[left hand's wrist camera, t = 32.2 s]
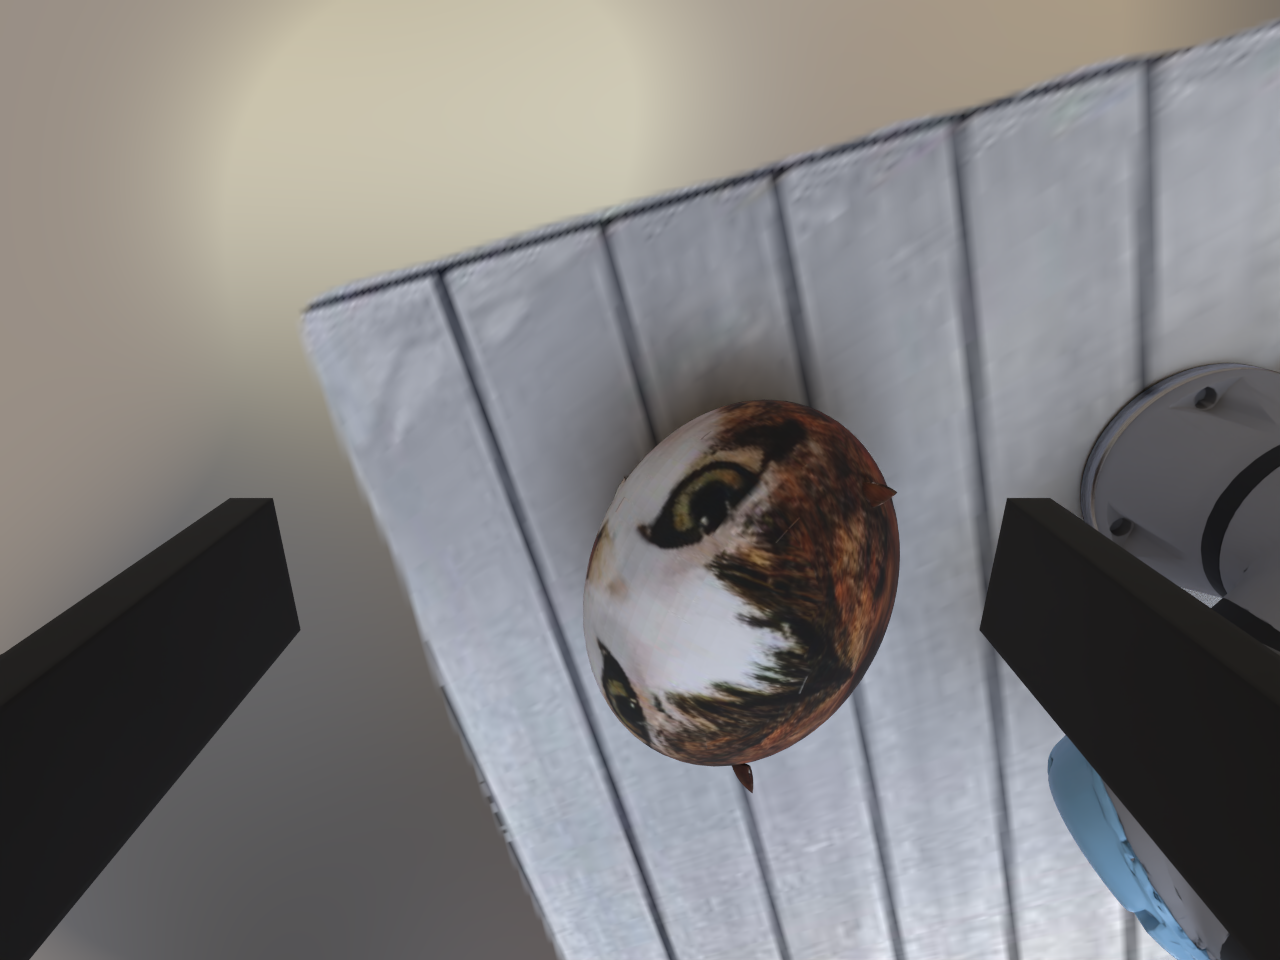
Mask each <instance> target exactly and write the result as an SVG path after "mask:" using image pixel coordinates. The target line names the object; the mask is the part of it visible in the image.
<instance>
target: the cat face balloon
mask: <svg viewBox="0 0 1280 960" xmlns="http://www.w3.org/2000/svg"><path fill="white" fill-rule="evenodd" d="M896 493H897V492H896V491H895V490H893V489H891V488H890V487H888V486H887V485H886V482H885V480H884V477H883V475H882V473H881V471H880V470H879V468H878V466H877V464H876V462H875V461H874V459H873V458H872V457H871V455H870V454H869V452H868V451H867V450H866V448H865V447H864V445H863V444H862V443H861V442H860V441H859V440H858V439H857V438H856V437H855V436H854V435H853V434H852V433H851V432H850V431H849V430H847V429H846V428H845V427H844V426H842V425H841V424H840V423H839V422H837V421H836V420H834V419H832V418H830V417H829V416H827V415H825V414H823V413H822V412H820V411H817V410H815V409H812V408H810V407H807V406H804V405H800V404H796V403H792V402H787V401H777V400H754V401H745V402H739V403H735V404H731V405H727V406H723V407H720V408H718V409H715V410H713V411H710V412H708V413H705V414H703V415H700V416H699V417H697V418H695V419H693V420H691V421H690V422H688V423H686V424H685V425H683V426H681V427H680V428H678V429H677V430H675V431H674V432H672V433H671V434H670V435H669V436H667V437H666V438H665V439H664V440H662V441H661V442H660V443H659V444H658V445H657V446H656V447H655V448H654V449H653V450H652V451H651V452H650V453H648V454H647V455H646V456H645V457H644V458H643V460H642V461H641V462H640V463H639V464H638V465H637V467H636V468H635V469H634V470H633V471H632V473H631V474H630V475H629V477H628V478H627V479H626V481H625V477H624V479H623V481H622V482H621V484H620V486H619V487H618V489H617V492H616V494H615V497H614V500H613V502H612V503H611V505H610V507H609V508H608V511H607V513H606V515H605V517H604V519H603V522H602V524H601V526H600V528H599V531H598V534H597V537H596V539H595V542H594V545H593V549H592V552H591V556H590V560H589V564H588V568H587V575H586V581H585V588H584V599H583V625H584V635H585V642H586V649H587V653H588V657H589V661H590V665H591V668H592V671H593V674H594V677H595V679H596V682H597V684H598V686H599V689H600V691H601V693H602V695H603V696H604V698H605V700H606V702H607V703H608V705H609V707H610V708H611V710H612V711H613V713H614V714H615V715H616V717H617V718H618V719H619V721H620V722H621V723H622V724H623V725H624V726H625V727H626V728H627V729H628V730H629V731H630V732H631V733H632V734H633V735H634V736H635V737H637V738H638V739H639V740H641V741H642V742H643V743H645V744H646V745H647V746H649V747H650V748H652V749H654V750H656V751H657V752H659V753H661V754H663V755H666V756H668V757H671V758H674V759H676V760H679V761H682V762H686V763H690V764H695V765H704V766H730V765H732V767H733V770H734V772H735V774H736V776H737V778H738V779H739V780H740V782H741V783H742V784H743V785H744V786H745V787H746V788H747V789H748V790H749V791H750V792H751V793H753V775H752V770H751V767H750V766H749V765H747V764H745V763H748V762H753V761H756V760H759V759H763V758H765V757H768V756H771V755H773V754H776V753H778V752H780V751H782V750H784V749H786V748H789V747H790V746H792V745H793V744H795V743H797V742H798V741H800V740H802V739H803V738H805V737H806V736H808V735H809V734H810V733H812V732H813V731H814V730H816V729H817V728H818V727H819V726H820V725H822V724H823V723H824V722H825V721H826V720H828V719H829V718H830V717H831V716H832V715H833V714H834V713H835V712H836V711H837V710H838V708H839V707H840V706H841V705H842V704H843V703H844V702H845V701H846V699H847V698H848V697H849V696H850V694H851V693H852V692H853V690H854V689H855V688H856V686H857V685H858V684H859V682H860V681H861V680H862V678H863V676H864V675H865V673H866V671H867V669H868V668H869V666H870V664H871V663H872V661H873V659H874V657H875V655H876V653H877V651H878V649H879V647H880V645H881V642H882V640H883V637H884V635H885V632H886V629H887V626H888V623H889V620H890V617H891V614H892V610H893V606H894V602H895V597H896V592H897V585H898V577H899V563H900V543H899V532H898V524H897V518H896V513H895V509H894V505H893V501H892V497H893V496H894V495H895V494H896Z"/></svg>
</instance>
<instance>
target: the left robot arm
mask: <svg viewBox="0 0 1280 960" xmlns="http://www.w3.org/2000/svg"><path fill="white" fill-rule="evenodd" d="M1081 508H1082V513H1083V518H1084V521H1085V522H1084V521H1083V520H1081V519H1080V518H1078V517H1077V516H1075V515H1074V514H1072V513H1071V512H1070V511H1068V510H1067V509H1065V508H1064V507H1062V506H1061V505H1059V504H1058V503H1056V502H1055V501H1053V500H1052V499H1051V498H1007V502H1006V506H1005V511H1004V516H1003V521H1002V525H1001V530H1000V535H999V540H998V544H997V549H996V554H995V559H994V563H993V568H992V573H991V578H990V583H989V587H988V592H987V597H986V602H985V606H984V611H983V616H982V621H981V625H980V631H981V632H982V633H983V635H984V636H985V637H986V638H987V640H988V641H989V642H990V643H991V644H992V646H993V647H994V648H995V649H996V651H997V652H998V653H999V654H1000V655H1001V657H1002V658H1003V659H1004V660H1005V661H1006V663H1007V664H1008V665H1009V666H1010V668H1011V669H1012V670H1013V671H1014V672H1015V674H1016V675H1017V676H1018V677H1019V678H1020V680H1021V681H1022V682H1023V683H1024V685H1025V686H1026V687H1027V688H1028V689H1029V691H1030V692H1031V693H1032V694H1033V695H1034V697H1035V698H1036V699H1037V700H1038V702H1039V703H1040V704H1041V705H1042V706H1043V708H1044V709H1045V710H1046V711H1047V713H1048V714H1049V715H1050V716H1051V717H1052V719H1053V720H1054V721H1055V722H1056V723H1057V725H1058V726H1059V727H1060V728H1061V730H1062V731H1063V732H1064V733H1065V734H1066V735H1065V736H1064V737H1063V738H1062V739H1061V740H1060V741H1059V742H1058V743H1057V744H1056V745H1055V746H1054V748H1053V749H1052V751H1051V753H1050V756H1049V759H1048V775H1049V776H1048V781H1049V786H1050V790H1051V793H1052V796H1053V799H1054V801H1055V804H1056V806H1057V808H1058V810H1059V812H1060V815H1061V817H1062V818H1063V820H1064V822H1065V824H1066V826H1067V828H1068V830H1069V831H1070V833H1071V835H1072V836H1073V838H1074V840H1075V841H1076V843H1077V845H1078V846H1079V848H1080V849H1081V851H1082V852H1083V854H1084V855H1085V857H1086V858H1087V860H1088V861H1089V863H1090V864H1091V866H1092V867H1093V868H1094V870H1095V871H1096V872H1097V874H1098V875H1099V877H1100V878H1101V879H1102V881H1103V882H1104V883H1105V885H1106V886H1107V887H1108V889H1109V890H1110V891H1111V892H1112V894H1113V895H1114V896H1115V897H1116V899H1117V900H1118V901H1119V902H1120V903H1121V904H1122V905H1123V906H1124V907H1125V909H1126V910H1127V911H1131V912H1134V913H1135V915H1136V917H1137V918H1138V920H1139V921H1140V923H1141V924H1142V926H1143V927H1144V929H1145V930H1146V932H1147V933H1148V934H1149V935H1150V936H1151V937H1152V938H1153V939H1154V940H1155V941H1156V942H1157V943H1158V944H1159V945H1160V946H1161V947H1162V948H1164V949H1165V950H1166V951H1167V952H1168V953H1169V954H1171V955H1172V956H1173V957H1174V958H1176V959H1177V960H1280V373H1278V372H1275V371H1271V370H1267V369H1263V368H1259V367H1255V366H1250V365H1245V364H1234V363H1229V364H1213V365H1206V366H1201V367H1197V368H1193V369H1190V370H1186V371H1184V372H1181V373H1178V374H1176V375H1173V376H1171V377H1169V378H1167V379H1165V380H1163V381H1161V382H1159V383H1157V384H1155V385H1154V386H1152V387H1150V388H1149V389H1147V390H1146V391H1144V392H1143V393H1141V394H1140V395H1139V396H1137V397H1136V398H1135V399H1134V400H1132V401H1131V402H1130V403H1129V404H1128V405H1127V406H1126V407H1125V408H1123V409H1122V410H1121V411H1120V412H1119V413H1118V415H1117V416H1116V417H1115V418H1114V419H1113V420H1112V421H1111V422H1110V424H1109V425H1108V426H1107V427H1106V429H1105V430H1104V432H1103V433H1102V435H1101V436H1100V438H1099V439H1098V441H1097V443H1096V444H1095V446H1094V448H1093V450H1092V452H1091V454H1090V457H1089V459H1088V461H1087V464H1086V467H1085V470H1084V475H1083V479H1082V486H1081ZM1180 587H1183V588H1186V589H1190V590H1194V591H1198V592H1202V593H1206V594H1209V595H1213V596H1217V597H1221V598H1222V599H1221V600H1220V601H1219V602H1218V603H1217V604H1215V605H1214V606H1213V607H1212V608H1210V607H1208V606H1207V605H1205V604H1204V603H1202V602H1201V601H1199V600H1198V599H1196V598H1195V597H1194V596H1192V595H1191V594H1189V593H1188V592H1186V591H1185V590H1183V589H1182V588H1180ZM299 631H300V625H299V621H298V616H297V611H296V606H295V602H294V597H293V592H292V587H291V583H290V578H289V573H288V568H287V564H286V559H285V554H284V549H283V544H282V540H281V535H280V530H279V525H278V521H277V516H276V511H275V506H274V502H273V498H229V499H228V500H227V501H225V502H224V503H222V504H221V505H219V506H218V507H216V508H215V509H213V510H212V511H210V512H209V513H208V514H206V515H205V516H203V517H202V518H200V519H199V520H197V521H196V522H194V523H193V524H192V525H190V526H189V527H187V528H186V529H184V530H183V531H181V532H180V533H178V534H177V535H176V536H174V537H173V538H171V539H170V540H168V541H167V542H165V543H164V544H162V545H161V546H159V547H158V548H157V549H155V550H154V551H152V552H151V553H149V554H148V555H146V556H145V557H143V558H142V559H140V560H139V561H138V562H136V563H135V564H133V565H132V566H130V567H129V568H127V569H126V570H124V571H123V572H122V573H120V574H119V575H117V576H116V577H114V578H113V579H111V580H110V581H108V582H107V583H106V584H104V585H103V586H101V587H100V588H98V589H97V590H95V591H94V592H92V593H91V594H90V595H88V596H87V597H85V598H84V599H82V600H81V601H79V602H78V603H76V604H75V605H73V606H72V607H71V608H69V609H68V610H66V611H65V612H63V613H62V614H60V615H59V616H57V617H56V618H54V619H53V620H52V621H50V622H49V623H47V624H46V625H44V626H43V627H41V628H40V629H38V630H37V631H35V632H34V633H33V634H31V635H30V636H28V637H27V638H25V639H24V640H22V641H21V642H19V643H18V644H16V645H15V646H14V647H12V648H11V649H9V650H8V651H6V652H5V653H3V654H1V655H0V960H29V959H30V958H31V957H32V956H33V954H34V953H35V952H36V951H37V950H38V948H39V947H40V946H41V945H42V944H43V942H44V941H45V940H46V939H47V937H48V936H49V935H50V934H51V932H52V931H53V930H54V929H55V928H56V926H57V925H58V924H59V923H60V922H61V920H62V919H63V918H64V917H65V916H66V914H67V913H68V912H69V911H70V909H71V908H72V907H73V906H74V905H75V903H76V902H77V901H78V900H79V899H80V897H81V896H82V895H83V894H84V892H85V891H86V890H87V889H88V888H89V886H90V885H91V884H92V883H93V881H94V880H95V879H96V878H97V877H98V875H99V874H100V873H101V872H102V871H103V869H104V868H105V867H106V866H107V864H108V863H109V862H110V861H111V860H112V858H113V857H114V856H115V855H116V854H117V852H118V851H119V850H120V849H121V847H122V846H123V845H124V844H125V843H126V841H127V840H128V839H129V838H130V837H131V835H132V834H133V833H134V832H135V830H136V829H137V828H138V827H139V826H140V824H141V823H142V822H143V821H144V819H145V818H146V817H147V816H148V815H149V813H150V812H151V811H152V810H153V808H154V807H155V806H156V805H157V804H158V802H159V801H160V800H161V799H162V798H163V796H164V795H165V794H166V793H167V791H168V790H169V789H170V788H171V787H172V785H173V784H174V783H175V782H176V781H177V779H178V778H179V777H180V776H181V774H182V773H183V772H184V771H185V770H186V768H187V767H188V766H189V765H190V764H191V762H192V761H193V760H194V759H195V757H196V756H197V755H198V754H199V753H200V751H201V750H202V749H203V748H204V747H205V745H206V744H207V743H208V742H209V740H210V739H211V738H212V737H213V736H214V734H215V733H216V732H217V731H218V730H219V728H220V727H221V726H222V725H223V723H224V722H225V721H226V720H227V719H228V717H229V716H230V715H231V714H232V713H233V711H234V710H235V709H236V708H237V706H238V705H239V704H240V703H241V702H242V700H243V699H244V698H245V697H246V695H247V694H248V693H249V692H250V691H251V689H252V688H253V687H254V686H255V684H256V683H257V682H258V681H259V680H260V678H261V677H262V676H263V675H264V674H265V672H266V671H267V670H268V669H269V668H270V666H271V665H272V664H273V663H274V661H275V660H276V659H277V658H278V657H279V655H280V654H281V653H282V652H283V651H284V649H285V648H286V647H287V646H288V644H289V643H290V642H291V641H292V640H293V638H294V637H295V636H296V635H297V633H298V632H299Z"/></svg>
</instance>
